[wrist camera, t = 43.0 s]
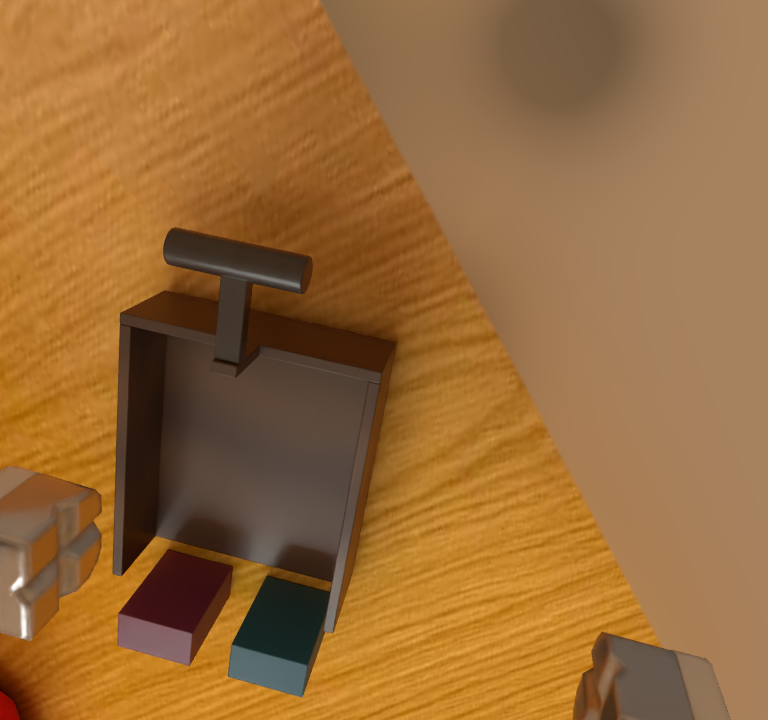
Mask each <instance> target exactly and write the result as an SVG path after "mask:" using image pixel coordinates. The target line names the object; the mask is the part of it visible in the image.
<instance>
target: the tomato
mask: <svg viewBox="0 0 768 720" xmlns="http://www.w3.org/2000/svg"><path fill="white" fill-rule="evenodd" d="M0 720H20V717H19V714H18V711H17V708H16V705H15V702H14V701H13V700H11V699H10V698H9V697H8V696H6V695H5V694H4V693H2V692H1V691H0Z"/></svg>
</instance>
